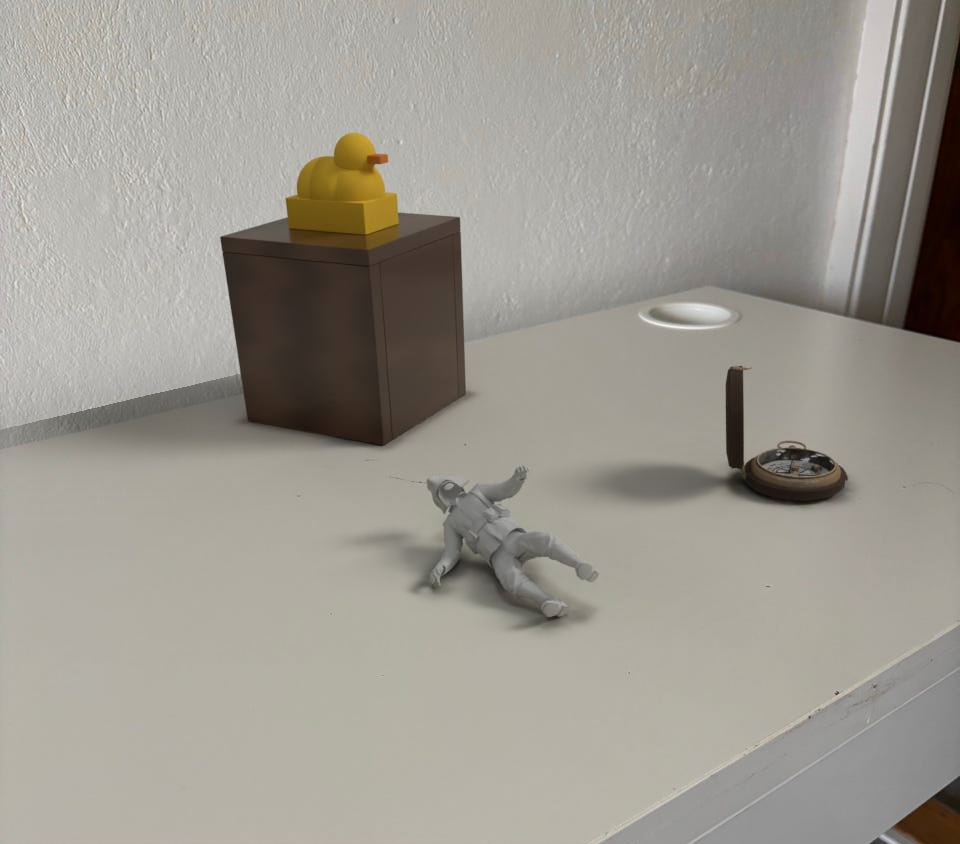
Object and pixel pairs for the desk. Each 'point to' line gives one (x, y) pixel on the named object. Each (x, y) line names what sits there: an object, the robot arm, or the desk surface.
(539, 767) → the desk surface
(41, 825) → the desk surface
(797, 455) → the compass
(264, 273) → the brown wooden box
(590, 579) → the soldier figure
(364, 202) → the rubber duck
